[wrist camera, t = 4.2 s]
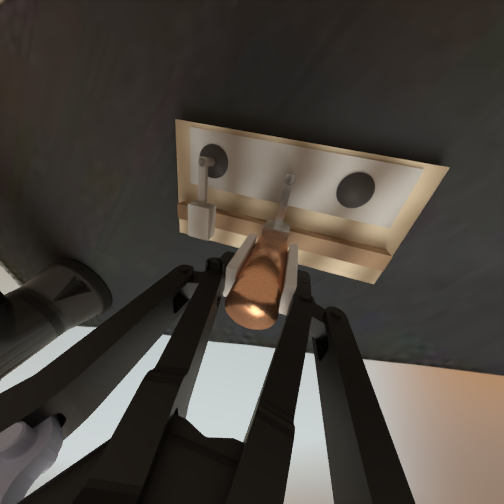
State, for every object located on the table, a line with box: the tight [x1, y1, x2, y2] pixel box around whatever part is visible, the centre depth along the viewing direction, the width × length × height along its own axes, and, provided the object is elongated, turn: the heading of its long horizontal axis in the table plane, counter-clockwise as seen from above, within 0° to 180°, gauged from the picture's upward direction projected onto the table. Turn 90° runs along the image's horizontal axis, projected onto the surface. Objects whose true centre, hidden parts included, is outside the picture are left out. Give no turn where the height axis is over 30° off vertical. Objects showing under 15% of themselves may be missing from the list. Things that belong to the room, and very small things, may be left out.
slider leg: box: [225, 174, 295, 330], centre depth 16 cm, size 3×9×13 cm, turn 171°
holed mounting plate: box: [175, 119, 449, 284], centre depth 21 cm, size 28×14×5 cm, turn 81°
